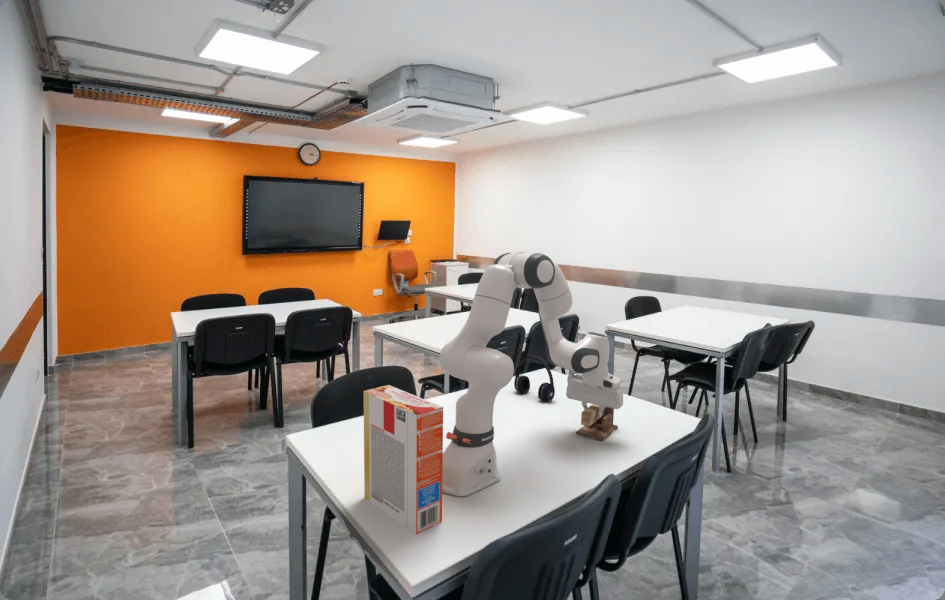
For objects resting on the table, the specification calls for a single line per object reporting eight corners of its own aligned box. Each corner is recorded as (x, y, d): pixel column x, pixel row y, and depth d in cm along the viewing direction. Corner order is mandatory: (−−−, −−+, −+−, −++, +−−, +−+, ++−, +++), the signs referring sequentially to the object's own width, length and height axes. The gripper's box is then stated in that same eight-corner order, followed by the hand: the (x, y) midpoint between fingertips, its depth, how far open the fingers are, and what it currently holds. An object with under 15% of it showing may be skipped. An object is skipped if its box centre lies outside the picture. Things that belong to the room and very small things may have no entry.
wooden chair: (602, 441, 181) (604, 408, 180) (576, 434, 187) (577, 402, 185) (617, 428, 194) (619, 397, 192) (592, 421, 199) (593, 391, 197)
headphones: (511, 392, 232) (512, 353, 229) (521, 389, 237) (523, 350, 234) (546, 404, 217) (547, 362, 215) (556, 401, 222) (558, 359, 219)
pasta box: (441, 521, 130) (443, 407, 126) (416, 534, 125) (416, 414, 121) (389, 487, 147) (389, 384, 143) (364, 497, 141) (363, 390, 137)
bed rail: (589, 426, 179) (589, 411, 178) (580, 424, 181) (581, 409, 180) (604, 414, 191) (605, 400, 190) (596, 412, 193) (597, 398, 192)
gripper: (564, 374, 187) (562, 411, 189) (619, 385, 175) (617, 424, 177) (571, 370, 192) (569, 406, 194) (626, 380, 180) (623, 418, 182)
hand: (593, 415), depth 185 cm, fingers closed on bed rail, 3 cm apart
